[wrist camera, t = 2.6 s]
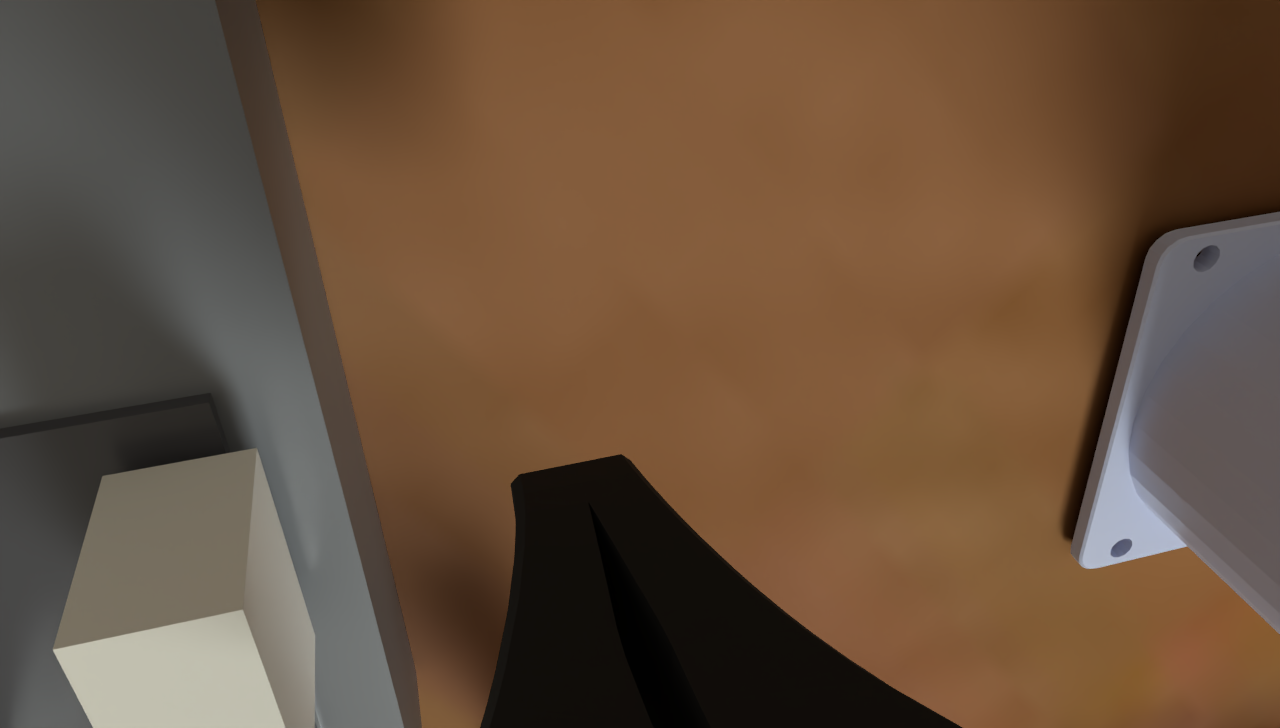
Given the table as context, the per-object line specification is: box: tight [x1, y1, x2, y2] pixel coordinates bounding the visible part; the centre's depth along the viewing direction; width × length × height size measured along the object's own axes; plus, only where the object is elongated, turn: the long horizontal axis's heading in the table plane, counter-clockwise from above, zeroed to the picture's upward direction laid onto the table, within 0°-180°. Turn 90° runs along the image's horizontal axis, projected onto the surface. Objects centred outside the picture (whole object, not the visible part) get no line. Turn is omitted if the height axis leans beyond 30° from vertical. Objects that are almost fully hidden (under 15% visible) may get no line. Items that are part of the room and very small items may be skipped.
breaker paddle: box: [53, 448, 315, 728], centre depth 11 cm, size 2×3×2 cm, turn 2°
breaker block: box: [0, 0, 422, 728], centre depth 12 cm, size 7×14×6 cm, turn 2°
